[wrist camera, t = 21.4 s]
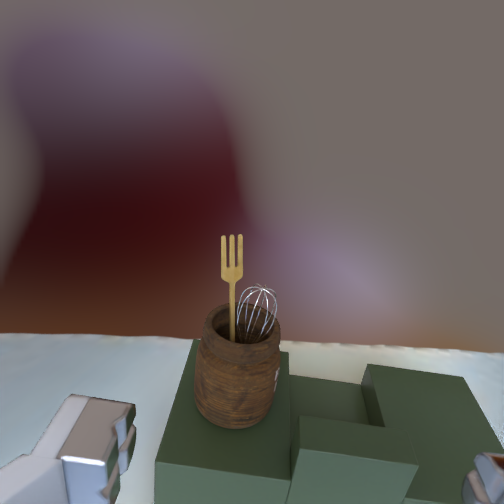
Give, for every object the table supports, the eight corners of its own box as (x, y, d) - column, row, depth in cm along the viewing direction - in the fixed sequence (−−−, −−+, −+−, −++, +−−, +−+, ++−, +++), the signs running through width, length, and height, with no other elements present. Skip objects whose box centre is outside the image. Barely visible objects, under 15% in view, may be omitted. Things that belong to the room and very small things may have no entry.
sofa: (437, 431, 38) (475, 350, 34) (498, 578, 27) (566, 487, 23) (189, 396, 38) (195, 310, 34) (153, 528, 28) (155, 427, 23)
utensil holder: (209, 444, 26) (225, 288, 21) (181, 377, 31) (189, 237, 26) (287, 419, 29) (319, 275, 23) (250, 361, 34) (269, 231, 28)
